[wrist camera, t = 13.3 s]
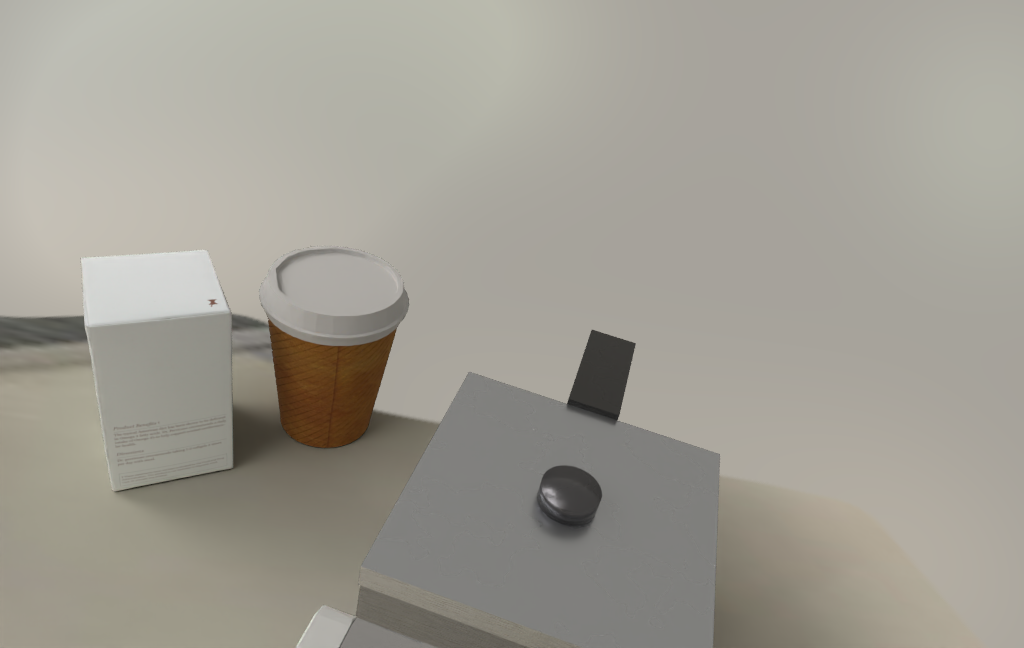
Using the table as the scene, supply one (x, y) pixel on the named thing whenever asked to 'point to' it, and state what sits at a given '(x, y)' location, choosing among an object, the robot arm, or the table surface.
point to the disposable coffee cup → (330, 338)
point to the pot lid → (557, 519)
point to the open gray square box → (424, 623)
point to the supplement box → (160, 364)
